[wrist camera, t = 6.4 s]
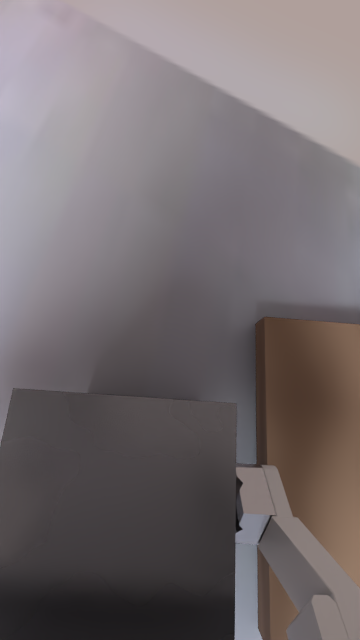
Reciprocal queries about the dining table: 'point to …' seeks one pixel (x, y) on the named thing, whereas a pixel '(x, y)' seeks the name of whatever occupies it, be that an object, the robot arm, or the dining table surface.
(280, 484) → the robot arm
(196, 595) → the grey square block
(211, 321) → the dining table surface
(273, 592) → the base plate
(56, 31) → the dining table surface
